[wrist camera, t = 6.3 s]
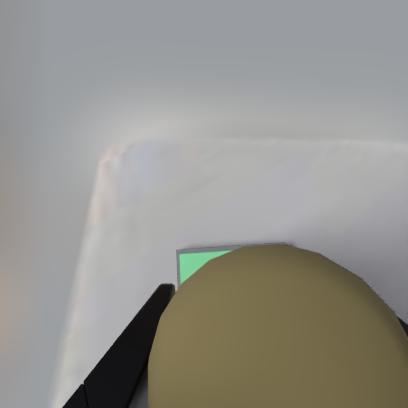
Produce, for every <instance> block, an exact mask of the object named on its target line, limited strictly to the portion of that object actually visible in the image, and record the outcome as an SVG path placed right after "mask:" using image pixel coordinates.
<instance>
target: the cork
mask: <svg viewBox="0 0 408 408" xmlns="http://www.w3.org/2000/svg"><path fill="white" fill-rule="evenodd" d="M148 408H408V337H407V335H406V333H405V331H404V329H403V327H402V326H401V324H400V322H399V320H398V318H397V316H396V315H395V313H394V311H393V310H392V309H391V308H390V307H389V306H388V305H387V304H386V303H385V302H384V301H383V300H382V299H381V298H380V297H379V296H378V295H377V294H376V293H375V292H374V291H373V290H372V289H371V287H370V286H369V285H368V284H367V283H366V282H365V281H364V280H363V279H362V278H360V277H358V276H357V275H355V274H353V273H352V272H350V271H348V270H347V269H345V268H343V267H341V266H340V265H338V264H336V263H335V262H333V261H331V260H329V259H328V258H326V257H324V256H323V255H321V254H319V253H316V252H312V251H308V250H304V249H300V248H296V247H292V246H288V245H284V244H269V245H253V246H243V247H240V248H238V249H235V250H233V251H230V252H228V253H225V254H223V255H220V256H218V257H215V258H213V259H211V260H209V261H208V262H207V263H205V264H204V265H203V266H202V267H201V268H199V269H198V270H197V271H196V272H195V273H194V274H192V275H191V276H190V277H189V278H188V279H186V280H185V281H184V282H183V283H182V284H181V285H180V287H179V288H178V290H177V291H176V293H175V295H174V296H173V298H172V299H171V301H170V302H169V304H168V306H167V307H166V309H165V310H164V312H163V314H162V315H161V317H160V320H159V324H158V327H157V331H156V334H155V338H154V341H153V345H152V348H151V352H150V356H149V362H148Z"/></svg>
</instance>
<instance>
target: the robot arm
mask: <svg viewBox="0 0 408 408" xmlns="http://www.w3.org/2000/svg"><path fill="white" fill-rule="evenodd" d="M174 295H175V286H174V284H161V285H159V287H158V288H157V289H156V290H155V292H154V293H153V294H152V296H151V297H150V298H149V299H148V301H147V302H146V303H145V304H144V306H143V307H142V308H141V309H140V311H139V312H138V313H137V314H136V316H135V317H134V318H133V320H132V321H131V322H130V323H129V325H128V326H127V327H126V328H125V330H124V331H123V332H122V333H121V335H120V336H119V337H118V338H117V340H116V341H115V342H114V344H113V345H112V346H111V347H110V349H109V350H108V351H107V352H106V354H105V355H104V356H103V357H102V359H101V360H100V361H99V362H98V364H97V365H96V366H95V368H94V369H93V370H92V371H91V373H90V374H89V375H88V376H87V378H86V379H85V380H84V384H81V385H80V386H79V387H78V389H77V390H76V391H75V393H74V394H73V395H72V396H71V398H70V399H69V400H68V401H67V403H66V404H65V405H64V406H63V407H62V408H148V362H149V356H150V352H151V348H152V345H153V341H154V338H155V334H156V331H157V327H158V324H159V320H160V317H161V315H162V314H163V312H164V310H165V309H166V307H167V306H168V304H169V302H170V301H171V299H172V298H173V296H174ZM397 318H398V320H399V322H400V324H401V326H402V327H403V329H404V331H405V333H406V335H407V337H408V324H406V323H405V322H404V321H403V320H401V319H400V318H399V317H397Z"/></svg>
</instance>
